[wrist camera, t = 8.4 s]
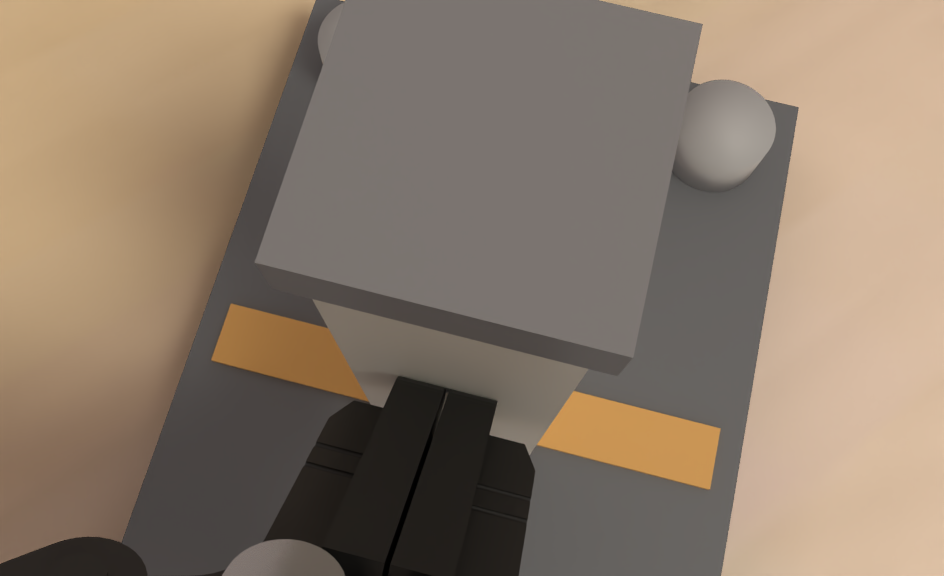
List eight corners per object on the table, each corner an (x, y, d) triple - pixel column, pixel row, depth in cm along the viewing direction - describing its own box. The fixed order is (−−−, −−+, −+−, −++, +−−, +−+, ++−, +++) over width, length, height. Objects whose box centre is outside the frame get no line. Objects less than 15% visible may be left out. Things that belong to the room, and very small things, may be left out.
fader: (365, 424, 17) (254, 261, 8) (412, 262, 18) (363, -54, 9) (536, 469, 17) (633, 358, 8) (574, 303, 18) (703, 24, 9)
